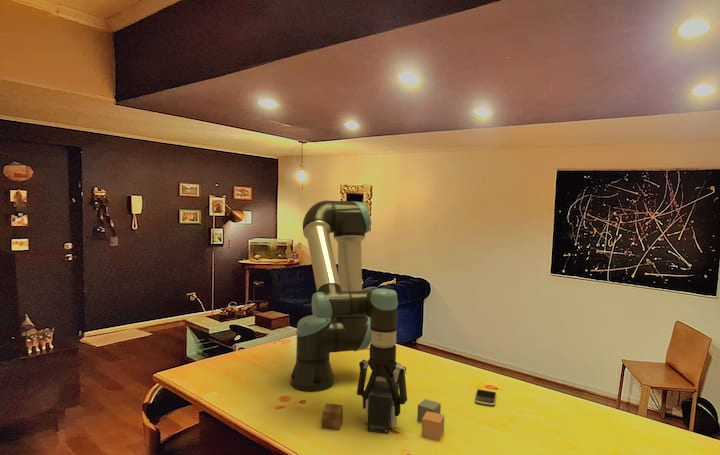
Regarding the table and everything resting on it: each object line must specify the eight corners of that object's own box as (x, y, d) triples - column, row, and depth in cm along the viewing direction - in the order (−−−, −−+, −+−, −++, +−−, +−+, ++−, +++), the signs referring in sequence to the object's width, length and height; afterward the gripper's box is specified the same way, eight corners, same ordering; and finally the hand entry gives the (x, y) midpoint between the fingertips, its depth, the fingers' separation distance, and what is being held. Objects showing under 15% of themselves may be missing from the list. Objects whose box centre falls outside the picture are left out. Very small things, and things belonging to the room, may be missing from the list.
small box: (389, 434, 117) (390, 396, 117) (366, 431, 119) (367, 394, 118) (394, 416, 128) (395, 381, 127) (373, 413, 129) (374, 379, 128)
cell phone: (474, 405, 137) (474, 401, 137) (477, 391, 148) (477, 387, 147) (494, 409, 135) (494, 404, 135) (496, 395, 145) (496, 391, 145)
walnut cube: (321, 428, 119) (322, 411, 119) (325, 420, 124) (326, 403, 124) (339, 430, 119) (339, 413, 119) (342, 421, 124) (343, 405, 123)
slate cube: (417, 421, 125) (417, 404, 125) (424, 415, 129) (425, 398, 129) (433, 426, 122) (433, 409, 122) (440, 420, 126) (440, 403, 126)
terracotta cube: (421, 436, 117) (422, 418, 116) (426, 428, 121) (426, 411, 121) (439, 441, 115) (440, 422, 114) (443, 432, 119) (444, 414, 119)
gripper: (345, 342, 123) (343, 420, 124) (413, 353, 115) (410, 437, 115) (356, 335, 130) (354, 410, 130) (420, 345, 121) (418, 424, 122)
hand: (380, 422), depth 123 cm, fingers open, 7 cm apart
